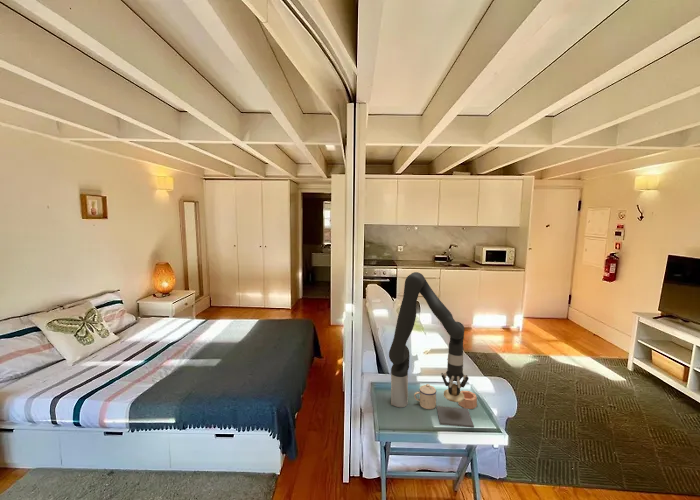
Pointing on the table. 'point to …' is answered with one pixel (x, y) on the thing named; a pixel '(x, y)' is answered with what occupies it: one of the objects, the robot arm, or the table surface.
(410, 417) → the table surface
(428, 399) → the teacup with lid
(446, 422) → the mat
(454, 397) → the lid
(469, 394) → the bowl
